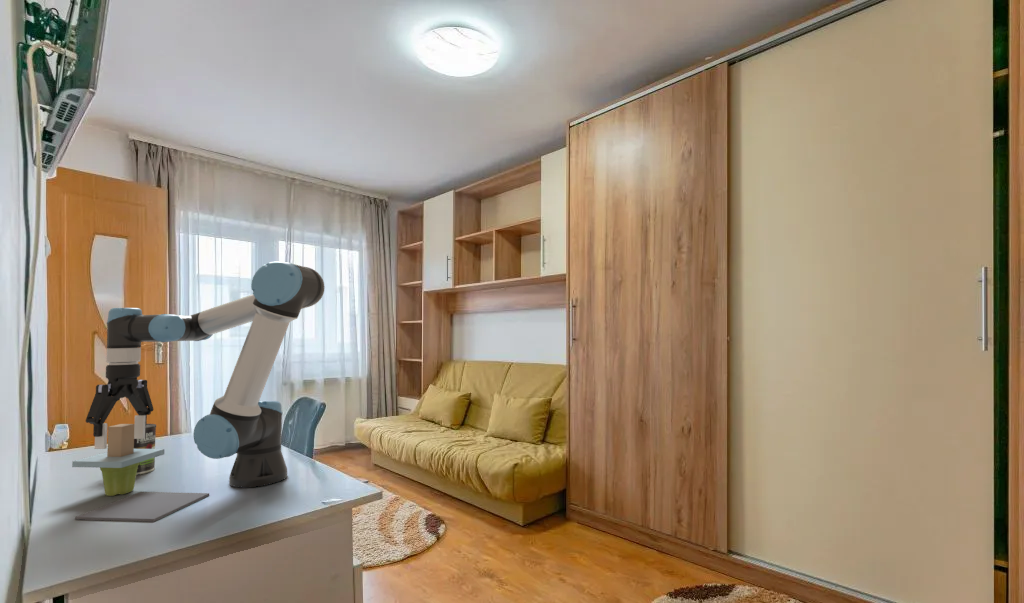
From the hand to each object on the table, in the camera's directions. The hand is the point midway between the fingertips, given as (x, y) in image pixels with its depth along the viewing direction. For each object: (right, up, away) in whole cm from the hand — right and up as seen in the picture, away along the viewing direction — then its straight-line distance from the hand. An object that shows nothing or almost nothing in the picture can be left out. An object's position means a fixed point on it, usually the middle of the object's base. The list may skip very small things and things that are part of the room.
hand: (120, 443), depth 136 cm
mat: (+16, -12, -12) cm, 24 cm away
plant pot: (0, -13, -1) cm, 13 cm away
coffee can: (-11, -15, +19) cm, 27 cm away
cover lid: (0, -5, 0) cm, 5 cm away
